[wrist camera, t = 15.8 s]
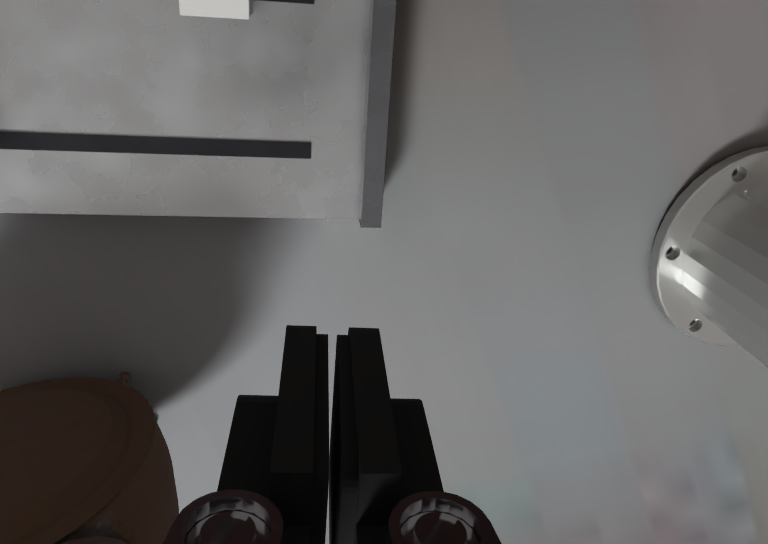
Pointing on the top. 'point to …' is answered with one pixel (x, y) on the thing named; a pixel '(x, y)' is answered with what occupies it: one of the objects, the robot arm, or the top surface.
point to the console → (195, 109)
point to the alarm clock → (83, 465)
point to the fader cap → (217, 8)
